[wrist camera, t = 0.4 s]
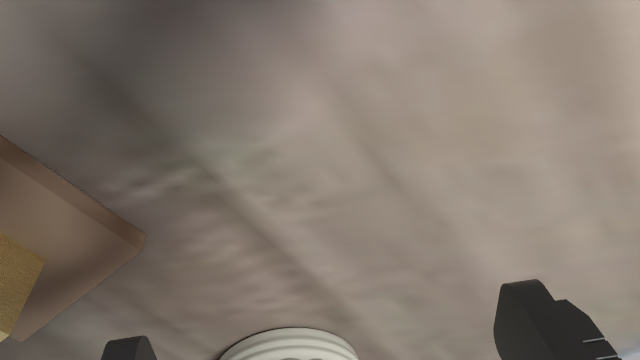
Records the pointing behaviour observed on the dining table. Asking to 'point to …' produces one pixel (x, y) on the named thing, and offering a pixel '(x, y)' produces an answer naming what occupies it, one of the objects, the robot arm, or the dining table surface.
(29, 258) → the brass post
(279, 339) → the jar
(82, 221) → the walnut board
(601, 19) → the dining table surface
